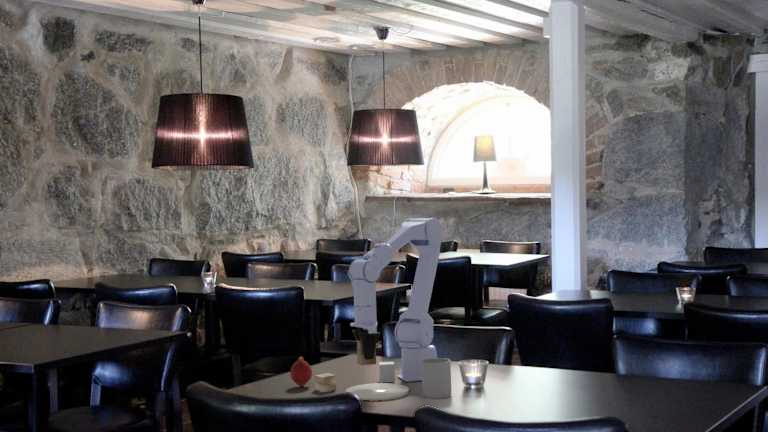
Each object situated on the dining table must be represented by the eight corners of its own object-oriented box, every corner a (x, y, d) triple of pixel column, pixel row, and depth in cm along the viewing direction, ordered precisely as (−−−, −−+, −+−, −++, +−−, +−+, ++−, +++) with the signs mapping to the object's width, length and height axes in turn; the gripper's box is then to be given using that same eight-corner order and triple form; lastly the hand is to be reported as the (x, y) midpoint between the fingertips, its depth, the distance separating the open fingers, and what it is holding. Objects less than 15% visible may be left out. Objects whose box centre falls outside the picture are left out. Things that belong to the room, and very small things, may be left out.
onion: (309, 389, 260) (308, 358, 260) (288, 388, 261) (287, 358, 261) (315, 384, 266) (313, 355, 266) (294, 384, 267) (293, 355, 267)
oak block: (328, 388, 261) (327, 373, 261) (336, 390, 258) (335, 375, 258) (315, 390, 259) (314, 375, 259) (323, 392, 255) (322, 377, 255)
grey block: (394, 379, 269) (393, 361, 269) (395, 382, 265) (394, 364, 265) (379, 380, 269) (379, 362, 269) (380, 383, 265) (379, 364, 265)
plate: (398, 385, 260) (398, 381, 260) (416, 397, 245) (416, 392, 245) (339, 391, 256) (339, 386, 256) (354, 403, 241) (354, 398, 241)
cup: (417, 398, 244) (416, 362, 244) (436, 390, 253) (435, 355, 253) (443, 400, 241) (441, 364, 240) (461, 392, 249) (460, 357, 249)
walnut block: (372, 361, 258) (371, 338, 258) (376, 364, 254) (375, 340, 254) (357, 362, 257) (356, 339, 257) (361, 365, 253) (360, 342, 253)
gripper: (343, 303, 261) (345, 354, 261) (356, 309, 247) (358, 363, 247) (369, 302, 263) (371, 352, 263) (383, 307, 249) (385, 361, 249)
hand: (366, 357), depth 256 cm, fingers closed on walnut block, 4 cm apart
